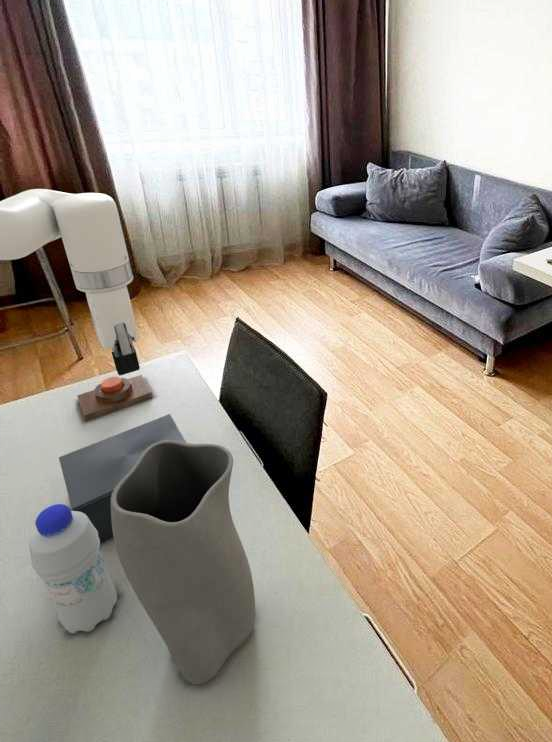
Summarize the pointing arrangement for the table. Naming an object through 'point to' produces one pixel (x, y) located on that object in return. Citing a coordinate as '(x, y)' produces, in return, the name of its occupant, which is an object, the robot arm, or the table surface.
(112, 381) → the button
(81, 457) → the lid
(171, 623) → the vase
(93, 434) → the table surface
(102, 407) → the block
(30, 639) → the table surface
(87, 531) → the bottle
